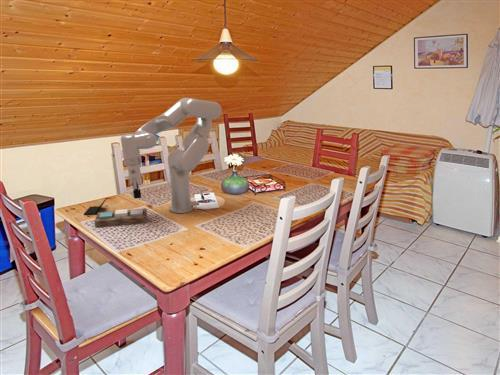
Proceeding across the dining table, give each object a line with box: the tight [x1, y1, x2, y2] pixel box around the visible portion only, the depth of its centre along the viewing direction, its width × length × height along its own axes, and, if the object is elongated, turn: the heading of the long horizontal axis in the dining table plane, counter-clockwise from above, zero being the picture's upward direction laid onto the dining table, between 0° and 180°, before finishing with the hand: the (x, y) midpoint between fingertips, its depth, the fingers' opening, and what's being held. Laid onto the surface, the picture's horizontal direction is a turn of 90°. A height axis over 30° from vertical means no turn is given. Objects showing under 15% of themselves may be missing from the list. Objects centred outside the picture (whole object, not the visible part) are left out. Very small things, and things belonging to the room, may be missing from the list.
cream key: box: [114, 208, 129, 218], centre depth 182 cm, size 6×6×2 cm
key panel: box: [94, 208, 148, 228], centre depth 183 cm, size 23×12×3 cm, turn 104°
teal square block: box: [99, 211, 113, 219], centre depth 181 cm, size 6×6×2 cm
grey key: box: [130, 208, 144, 216], centre depth 184 cm, size 6×6×2 cm
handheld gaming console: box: [83, 198, 107, 216], centre depth 195 cm, size 12×7×10 cm
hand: (137, 197), depth 183 cm, fingers closed
